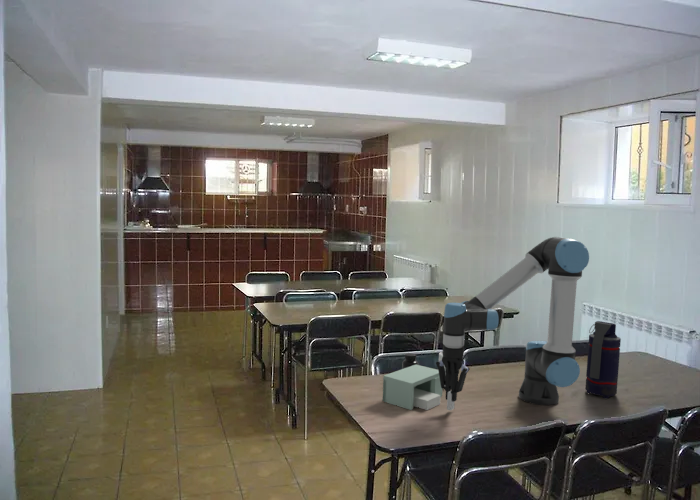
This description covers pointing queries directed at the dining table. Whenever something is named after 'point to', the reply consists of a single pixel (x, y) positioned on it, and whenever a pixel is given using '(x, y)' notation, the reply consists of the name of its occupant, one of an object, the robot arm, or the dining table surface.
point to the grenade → (603, 360)
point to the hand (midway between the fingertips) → (450, 408)
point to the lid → (425, 399)
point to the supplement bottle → (409, 360)
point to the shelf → (410, 385)
